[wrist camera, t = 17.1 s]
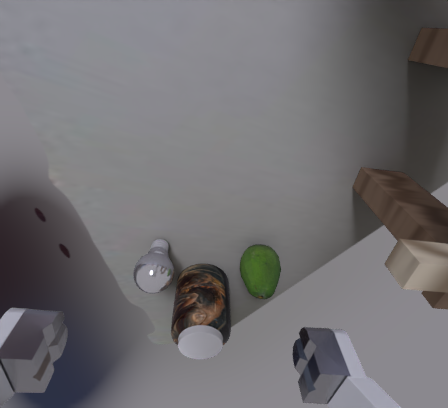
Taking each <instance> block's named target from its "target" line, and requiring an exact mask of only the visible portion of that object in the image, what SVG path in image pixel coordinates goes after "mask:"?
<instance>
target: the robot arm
mask: <svg viewBox="0 0 448 408" xmlns="http://www.w3.org/2000/svg"><path fill="white" fill-rule="evenodd" d="M63 320H64V315H63V312H59V311H46V310H34V309H22V308H11V309H9V310H8V311H7V312H6V313H5V314H4V315H3V317H2V318H1V320H0V407H1V406H2V405H3V404H4V403H6V402H7V400H9V399H10V398H11V397H12V396H13V395H14V392H30V393H32V392H33V393H44V392H45V389H46V387H47V385H48V383H49V381H50V379H51V377H52V374H53V372H54V367H53V362H54V361H56V360H57V359H58V358H59V357H60V356H61V355H62V352H63V350H64V348H65V344H66V340H67V327H66V326H65V325H64V324H63V323H62V322H63ZM299 335H300V338H299V339H297V340H296V341H295V343H294V346H293V362H294V366H295V369H296V370H297V371H298V372H299V373H300V375H301V376H300V378H299V381H298V383H299V388H300V392H301V396H302V400H303V403H317V404H328V405H327V406H328V408H401V407H400V406H399V405H398V404H397V403H396V402H395V401H394V400H393V399H392V398H391V397H390V396H389V395H388V394H387V393H386V392H385V391H384V390H383V389H382V388H381V387H380V386H379V385H378V384H377V383H376V382H375V381H374V380H373V379H372V378H369V377H366V375H365V372H364V370H363V368H362V365H361V363H360V361H359V358H358V357H357V354H356V352H355V349H354V347H353V345H352V342H351V340H350V338H349V336H348V333H347V332H346V331H345V330H342V329H341V330H340V329H329V328H308V327H303V328H302V329H301V330H300V332H299Z"/></svg>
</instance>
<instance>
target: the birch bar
mask: <svg viewBox="0 0 448 408" xmlns="http://www.w3.org/2000/svg"><path fill="white" fill-rule="evenodd" d="M385 265H386V267H387V268H388V269H389V271H390V272H391V274H392V275H393V277H394V278H395V279H396V281H397V282H398V284H399V285H400V286H401V288H402V289H408V290H421V291H433V292H445V293H448V244H446V243H436V242H426V241H416V240H406V239H399V240H398V242H397V244H396V246H395V247H394V249H393V251H392V252H391V254H390V256H389V257H388V259H387V261H386V262H385Z"/></svg>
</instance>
